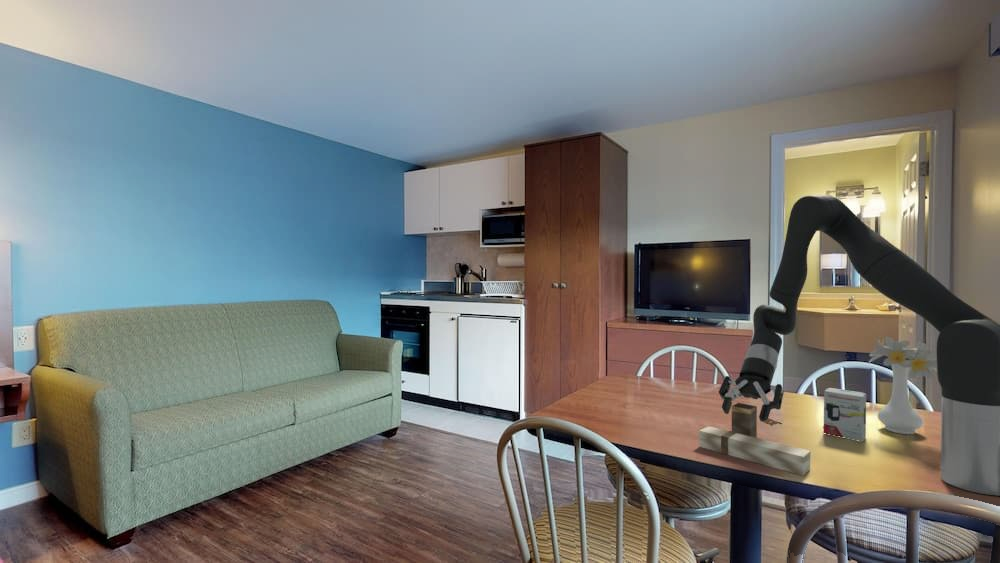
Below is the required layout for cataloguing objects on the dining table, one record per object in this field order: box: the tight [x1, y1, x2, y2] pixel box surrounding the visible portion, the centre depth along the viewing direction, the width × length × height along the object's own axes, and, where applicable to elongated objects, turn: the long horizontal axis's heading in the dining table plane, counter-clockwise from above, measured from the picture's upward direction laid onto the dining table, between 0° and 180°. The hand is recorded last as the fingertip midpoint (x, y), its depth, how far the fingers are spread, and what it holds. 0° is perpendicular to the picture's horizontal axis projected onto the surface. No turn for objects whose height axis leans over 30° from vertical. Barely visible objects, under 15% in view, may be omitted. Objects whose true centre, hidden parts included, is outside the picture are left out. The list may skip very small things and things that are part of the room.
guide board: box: [698, 425, 811, 477], centre depth 105 cm, size 22×5×4 cm, turn 42°
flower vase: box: [868, 336, 937, 435], centre depth 123 cm, size 13×18×25 cm
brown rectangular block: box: [731, 402, 758, 438], centre depth 115 cm, size 4×4×9 cm
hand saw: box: [763, 417, 783, 426], centre depth 140 cm, size 24×5×1 cm, turn 14°
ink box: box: [822, 387, 867, 442], centre depth 119 cm, size 9×5×12 cm, turn 44°
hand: (743, 416), depth 114 cm, fingers open, 8 cm apart
